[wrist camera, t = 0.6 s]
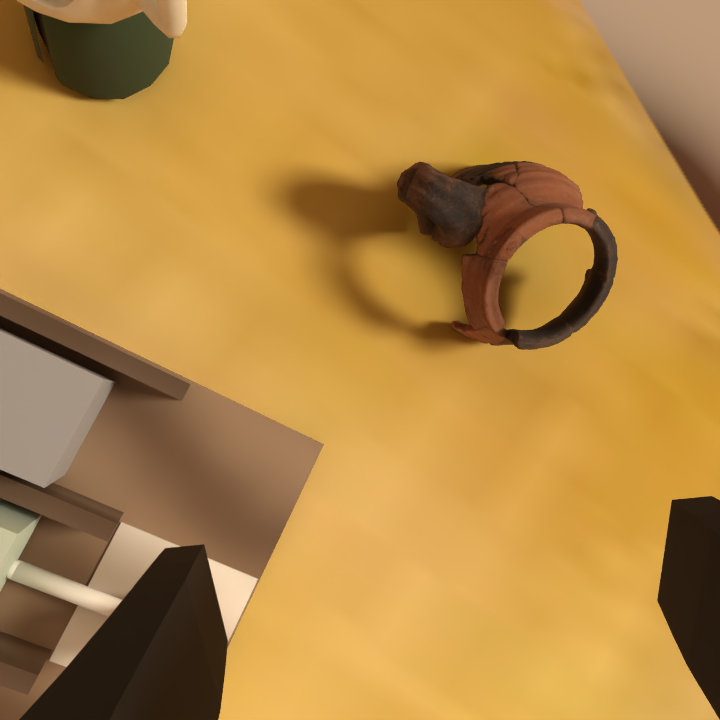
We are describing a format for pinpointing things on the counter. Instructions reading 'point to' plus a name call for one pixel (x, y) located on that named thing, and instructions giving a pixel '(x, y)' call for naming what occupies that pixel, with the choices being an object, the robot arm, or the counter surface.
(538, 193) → the dark brown lumpy figurine
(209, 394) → the lane shelf
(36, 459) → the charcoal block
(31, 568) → the rod with orange block
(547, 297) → the counter surface
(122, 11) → the character mug
